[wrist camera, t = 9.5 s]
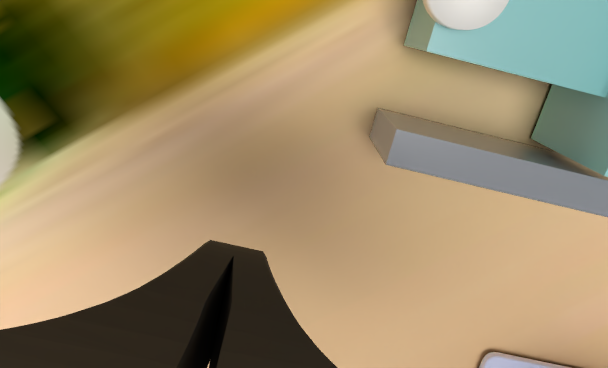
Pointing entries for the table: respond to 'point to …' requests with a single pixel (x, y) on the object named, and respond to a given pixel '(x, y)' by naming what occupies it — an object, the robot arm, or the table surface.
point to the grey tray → (488, 162)
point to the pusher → (534, 60)
